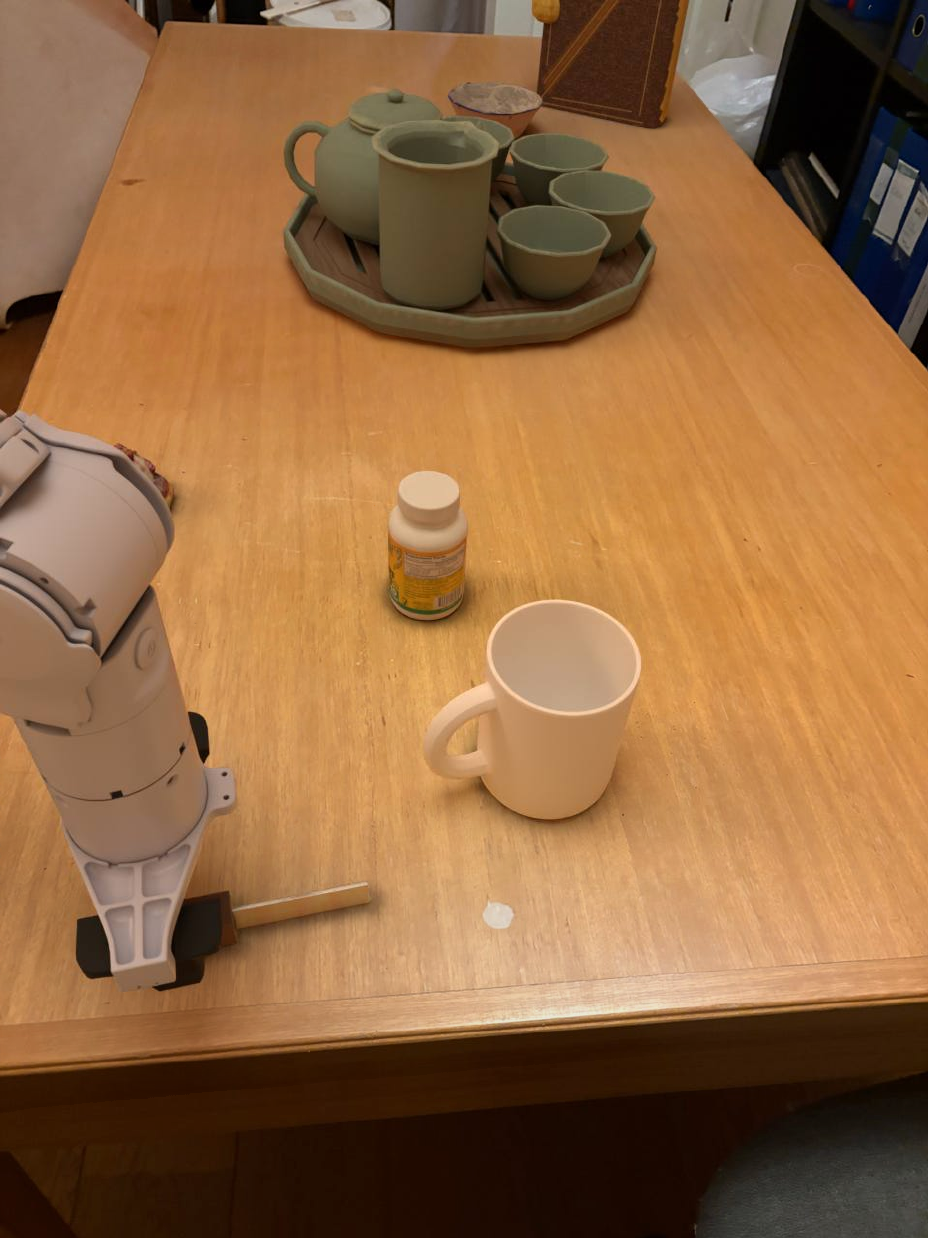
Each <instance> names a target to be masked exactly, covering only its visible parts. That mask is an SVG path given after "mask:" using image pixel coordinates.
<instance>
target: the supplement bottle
mask: <svg viewBox="0 0 928 1238" xmlns="http://www.w3.org/2000/svg"><path fill="white" fill-rule="evenodd" d="M396 501H397V504H396V505H395V506H394V507H393V508H392V510H391V511H390V514H389V516H388V520H387V548H388V549H387V554H388V555H387V558H388V559H387V561H388V564H387V565H388V567H387V568H388V569H387V570H388V571H387V572H388V584H387V585H388V595H389V599H390V601H391V603H392V605H394V607H395V608H396V610H398V611H399V612H400V613H401V614H403V615H404V616H405V617H406V616H407V617H408V618H411V619H415V620H420V621H436V620H439V619H443V618H446V617H447V616H449V615H451V614H453V613H454V612H455V611H456V610H457V609H458V608H459V606H460V605H461V604H462V601H463V598H464V593H465V592H464V591H465V576H466V562H467V561H466V560H467V548H468V547H467V546H468V535H469V521H468V517H467V514H466V513H465V511H464V510H463V508H462V507H461V488H460V485H459V484H458V483H457V481H456V480H455V479H454V478H453V477H452V476H449V475H448V474H445V473H443V472H440V471H435V470H421V471H416V472H412V473H410V474H407V475H406V476H405V477H404V478H402V480H401V481H400V482H399V483H398V487H397V500H396Z"/></svg>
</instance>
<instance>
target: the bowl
mask: <svg viewBox="0 0 928 1238" xmlns="http://www.w3.org/2000/svg"><path fill="white" fill-rule="evenodd" d="M447 98H448V100H449V103H450V105H451V106H452V108H453V110H454V113H455V114H456V115H455V116H468V117H479V118H483V119H488V120H492V121H496V122H498V123H500V124H502V125H504V126H506V127H508V128H510V129H511V131H512V133H513V135H514V138H515V140H518V139H520V138H521V137H522V134H523V133H524V131H525V130H526V128H527V127H528V125H529V124H530V123H531V121H532V120H533V118H534V116H535V115H536V113H537V112H538V111H539V110H540V109H541V107H543V106H542V102H543V100H542V98H541V97H540V95H538V94H537V92H535V91H534V90H532V89H529V88H527V87H525V86H522V85H517V84H511V83H505V82H504V83H503V82H499V81H485V82H484V81H482V82H481V81H480V82H479V81H476V82H469V81H468V82H467V83H465V82H462V83H461V84H460V85H458V86H456V87H454V88H452V89H451V90H450V91H449V92H448V94H447Z"/></svg>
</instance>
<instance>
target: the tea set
mask: <svg viewBox="0 0 928 1238" xmlns="http://www.w3.org/2000/svg"><path fill="white" fill-rule="evenodd" d="M308 133H311V134H314V133H315V134H318V135H319V136H320V137H321V138H320V140H319V142H318V143H317V146H316V148H315V150H314V185H312V184H310V182H308V181H306V180H305V179H304V177H303V176H302V174H301V173H300V172H299V170H298V168H297V165H296V163H295V153H294V152H295V148H296V145H297V142H298V141H299V139H301V137H303V136H304V135H306V134H308ZM508 155H510V157H511V160H512V162H510V161H507V158H508ZM609 158H610V156H609V154H608V151H606V149H605V148H604V146H602V145H601V144H598V143H597V142H594V141H593V140H591V139H589V138H586V137H580V136H576V135H572V134H567V133H554V132H553V133H549V132H542V133H535V134H528V135H523V136H520V137H519V138H517V139H515V138H514V135H513V133H512V131H511V129H510V128H508V127H506V126H504V125H502V124H500V123H498V122H496V121H492V120H488V119H483V118H479V117H468V116H457V115H449V116H443V112H442V111H441V109H440V108H439V107H438V106H436V104H434V103H433V101H432V100H430V99H427V98H425V97H422V96H419V95H417V94H413V93H412V94H411V93H404V92H403V91H402V90H400V89H398V88H391V89H389V90H388V91H387V92H377V93H373V94H372V93H371V94H367V95H364V96H362V97H361V98H359V99H358V100H356V101H355V102H353V103H352V104H350V106H349V107H348V117H347V118H345V119H343V120H341V121H340V122H338V123H337V124H335V125H333V126H332V127H331V126H328V125H327V124H324V123H322V122H320V121H318V120H307V121H306V120H305V121H303V122H301V123H300V124H298V125H296V126H294V128H292V130H291V132H290V133H289V135H288V136H287V138H286V139H285V143H284V147H283V161H284V167H285V169H286V172H287V174H288V177H289V179H290V180H291V181H292V183H294V185H295V186H296V187H297V188H298V190H300V191H301V192H303V193H304V194H303V196H302V198H301V199H300V201H299V202H298V204H297V206H296V208H295V209H294V211H293V213H292V215H291V217H290V218H289V220H288V222H287V223H286V225H285V226H284V228H283V230H282V238H283V247H284V250H285V251H286V254H287V255H288V257H289V259H290V261H291V262H292V264H293V266H294V268H295V269H296V271H297V273H298V274H299V275H298V276H299V277H300V278H301V280H302V282H303V284H304V286H305V287H306V289H307V291H308V292H309V294H310V296H311V298H312V300H314V301H316V302H319V303H321V304H323V305H324V306H326V307H329V308H330V309H332V310H335V311H336V312H338V313H340V314H342V315H343V316H346V317H348V318H349V319H352V320H354V321H356V322H358V323H360V324H362V325H364V326H365V327H367V328H369V329H371V330H373V331H375V332H376V333H379V334H386V335H390V336H397V337H398V336H399V337H403V338H409V339H416V340H421V341H428V342H433V343H440V344H445V345H451V346H458V347H463V348H468V349H479V348H490V347H491V348H492V347H502V346H513V345H524V344H525V345H526V344H535V343H546V342H547V343H548V342H558V341H560V342H561V341H567V340H568V339H570V338H573V337H575V336H578V335H579V334H581V333H584V332H586V331H589V330H591V329H593V328H595V327H597V326H599V325H601V324H604V323H606V322H608V321H610V320H613V319H614V318H618V317H619V316H621V315H624V314H627V313H628V312H629V310H630V309H631V308H632V306H633V305H634V304H635V301H636V300H637V298H638V296H639V294H640V292H641V290H642V288H643V286H644V284H645V282H646V280H647V278H648V276H649V275H650V273H651V270H652V269H653V267H654V264H655V262H656V261H655V260H656V256H657V250H658V246H657V245H656V243H655V241H654V240H653V238H652V237H651V235H650V233H649V232H648V230H647V228H646V227H645V225H644V223H643V221H644V219H645V217H646V214H647V212H648V211H649V209H650V208H651V206H652V204H653V203H654V201H655V199H656V195H655V194H654V192H653V191H652V189H651V188H650V186H649V185H647V184H645V183H644V182H641V181H639V180H638V179H636V178H634V177H632V176H629V175H625V174H621V173H616V172H612V171H607V170H603V167H604V166H605V165H606V163H607V162H608V159H609Z"/></svg>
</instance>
